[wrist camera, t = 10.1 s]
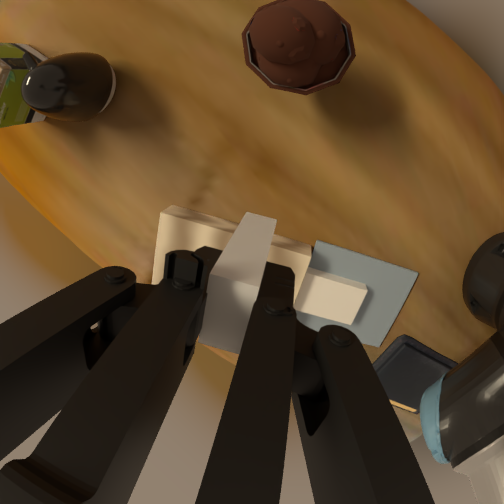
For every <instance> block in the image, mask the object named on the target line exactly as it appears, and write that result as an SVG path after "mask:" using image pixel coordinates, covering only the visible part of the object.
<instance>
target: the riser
mask: <svg viewBox="0 0 504 504" xmlns="http://www.w3.org/2000/svg"><path fill="white" fill-rule="evenodd" d="M238 225H239V224H238V223H235V222H231V221H228V220H224V219H221V218H218V217H214V216H211V215H207V214H204V213H200V212H196V211H193V210H189V209H186V208H182V207H179V206H175V205H171V206H170V207H168V208H167V209H165V210H164V211H162V212H161V214H160V221H159V228H158V235H157V243H156V251H155V259H154V268H153V277H152V284H154V285H156V284H159V282H160V281H161V280H162V279H163V274H164V263H165V254H167V253H168V252H170V251H174V250H189V251H195V250H196V249H198V248H201V247H203V246H208V247H212V248H215V249H219V250H224V249H225V247H226V245H227V244H228V242H229V240H230V239H231V237H232V235H233V234H234V232H235V230H236V229H237V227H238ZM311 257H312V255H311V245H309V244H305V243H302V242H299V241H295V240H292V239H289V238H286V237H282V236H279V235H276V234H273V238H272V241H271V245H270V249H269V253H268V257H267V261H268V262H272V263H276V264H279V265H283V266H287V267H291V269H292V270H293V272H294V273H295V287H294V303H295V300H296V298H297V295H298V292H299V290H300V287H301V284H302V282H303V279H304V276H305V274H306V271H307V268H308V265H309V263H310V260H311ZM293 305H294V304H293Z"/></svg>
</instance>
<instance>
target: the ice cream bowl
mask: <svg viewBox="0 0 504 504" xmlns="http://www.w3.org/2000/svg"><path fill="white" fill-rule="evenodd" d="M242 40H243V47H244V54H245V61H246V65H247V66H248V67H249V68H250V69H251V70H253V71H254V72H255V73H256V74H257V75H258V76H259V77H260V78H261V79H262V80H263V81H264V82H265V83H266V84H267V85H268V86H269V87H270V88H274V89H279V90H284V91H289V92H294V93H298V94H303V95H308V94H311V93H313V92H316V91H318V90H321V89H324V88H326V87H329V86H332V85H335V84H337V83H339V82H340V80H341V79H342V77H343V76H344V74H345V72H346V71H347V69H348V68H349V66H350V64H351V63H352V61H353V59H354V58H355V56H356V55H355V49H354V43H353V37H352V32H351V27H350V24H349V23H348V22H347V21H346V20H344V19H343V18H342V17H341V16H340V15H339V14H338V13H337V12H336V11H335V10H334V9H332V8H331V7H330V6H329V5H328V4H327V3H326V2H323V1H318V0H276V1H274V2H271V3H269V4H266V5H264V6H261V7H259V8H258V9H257V11H256V12H255V14H254V15H253V17H252V18H251V20H250V21H249V23H248V24H247V26H246V28H245V29H244V31H243V32H242Z"/></svg>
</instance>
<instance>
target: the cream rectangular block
mask: <svg viewBox="0 0 504 504" xmlns="http://www.w3.org/2000/svg"><path fill="white" fill-rule="evenodd" d="M366 293H367V287H366V284H364V283H360V282H357V281H354V280H350V279H347V278H344V277H340V276H337V275H333V274H330V273H327V272H323V271H320V270H317V269H313V268H310V267H308V268H307V271H306V274H305V276H304V279H303V282H302V284H301V287H300V290H299V292H298V295H297V298H296V300H295V303H294V305H293V307H294V309H295V310H297V311H301V312H304V313H308V314H312V315H315V316H319V317H322V318H326V319H330V320H333V321H337V322H341V323H345V324H348V325H351V324H352V322H353V320H354V318H355V316H356V314H357V312H358V310H359V308H360V306H361V304H362V302H363V300H364V298H365V295H366Z"/></svg>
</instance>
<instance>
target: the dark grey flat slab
mask: <svg viewBox="0 0 504 504" xmlns="http://www.w3.org/2000/svg"><path fill="white" fill-rule="evenodd" d="M372 365H373V367H374V369H375V371H376V373H377V375H378V377H379V380H380V382H381V384H382V386H383V388H384V390H385V392H386V394H387V396H388V398H389V400H390V402H391V404H392V405H393V406H396V407H398V408H401V409H404V410H407V411H409V412H412V413H415V414H418V413H419V412H420V403H421V399H422V396H423V394H424V392H425V391H426V389H427V388H429V387H430V386H431V385H432V384H434V383H435V382H436V381H438V380H439V379H440V378H441V377H442V375H443V374H444V373H446V372H448V371H450V370H451V369H453V368H454V367H455V366H457V365H458V363H456V362H455V361H453V360H451V359H449V358H447V357H445V356H443V355H441V354H439V353H438V352H436V351H434V350H432V349H431V348H429V347H427V346H426V345H424V344H422V343H420V342H419V341H417V340H415V339H414V338H412V337H410V336H407V335H405V334H404V335H402V336H399V337H397V338H396V339H395V340H394V342H393V343H392V344H391V345H390V346H389V347H388V348H387V349H386V350H385V351H384V352H383V353H382V354H381V355H380V357H379V358H378V359H377V360H376V361H375V362H374V363H373V364H372Z"/></svg>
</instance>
